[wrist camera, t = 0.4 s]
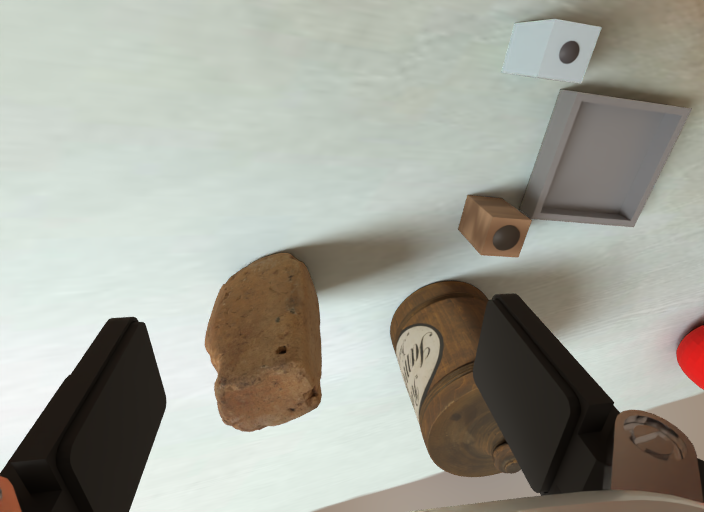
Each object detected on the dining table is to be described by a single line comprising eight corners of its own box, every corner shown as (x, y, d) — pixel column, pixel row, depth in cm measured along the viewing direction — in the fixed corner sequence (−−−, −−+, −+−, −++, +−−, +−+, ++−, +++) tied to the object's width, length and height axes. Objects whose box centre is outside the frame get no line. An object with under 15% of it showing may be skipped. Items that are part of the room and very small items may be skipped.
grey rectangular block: (514, 23, 40) (555, 18, 33) (555, 30, 40) (602, 27, 34) (501, 72, 42) (537, 76, 35) (539, 78, 42) (582, 83, 36)
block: (302, 242, 48) (307, 357, 30) (320, 292, 51) (334, 420, 34) (216, 267, 48) (171, 396, 30) (240, 315, 51) (212, 455, 34)
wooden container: (380, 295, 53) (430, 439, 34) (487, 267, 53) (598, 395, 34) (398, 374, 60) (447, 529, 41) (492, 349, 60) (586, 492, 41)
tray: (560, 89, 43) (577, 91, 40) (668, 105, 46) (691, 108, 43) (519, 209, 49) (531, 218, 47) (616, 218, 52) (633, 227, 49)
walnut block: (467, 194, 48) (493, 217, 41) (501, 198, 48) (532, 220, 42) (457, 229, 50) (481, 255, 43) (491, 231, 50) (518, 257, 44)
